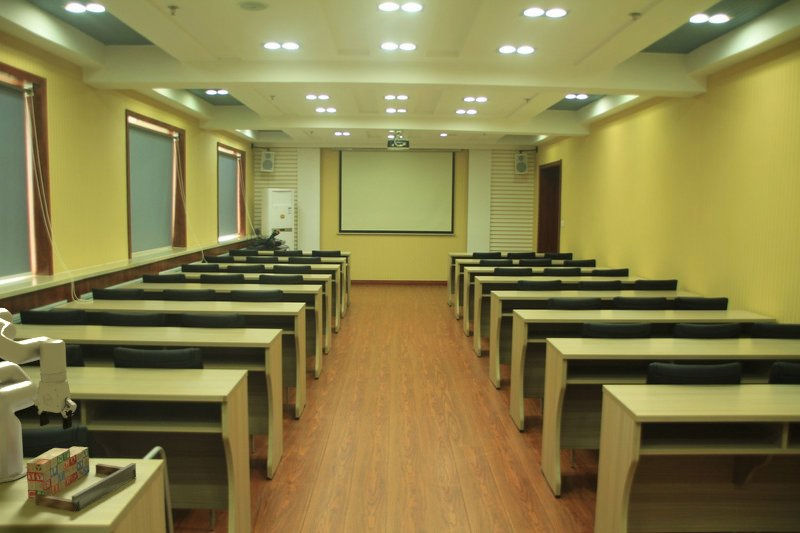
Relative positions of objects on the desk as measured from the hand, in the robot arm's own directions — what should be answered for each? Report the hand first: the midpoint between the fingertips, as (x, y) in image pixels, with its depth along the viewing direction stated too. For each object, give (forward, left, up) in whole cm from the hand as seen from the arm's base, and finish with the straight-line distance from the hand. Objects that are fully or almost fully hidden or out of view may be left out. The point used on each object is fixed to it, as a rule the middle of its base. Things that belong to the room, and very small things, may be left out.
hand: (55, 426), depth 205 cm
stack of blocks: (0, 0, -21) cm, 21 cm away
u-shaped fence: (+13, 0, -20) cm, 24 cm away
